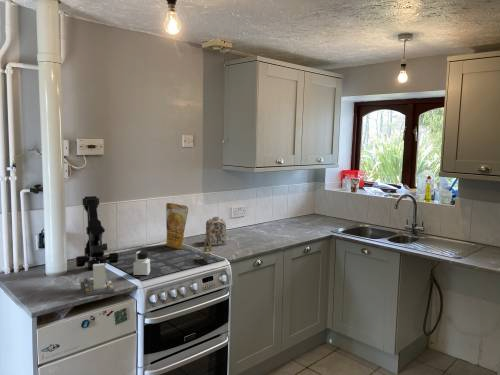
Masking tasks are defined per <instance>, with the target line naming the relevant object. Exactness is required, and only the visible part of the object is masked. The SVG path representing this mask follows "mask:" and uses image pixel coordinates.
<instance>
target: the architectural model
mask: <svg viewBox="0 0 500 375" xmlns="http://www.w3.org/2000/svg"><path fill="white" fill-rule="evenodd" d="M203 241H204V246H200V247H199V249H200V252H201V253H202V260H203V261H204V262H205V263H206V262H207V263H208V259H209V257H210V255H211V254H214V253H216V251H215V249H214V248H213V247H212V246H213V245H211V246H210V237H209V244H208V246H207V242H206V238H204V240H203ZM207 258H208V259H207Z"/></svg>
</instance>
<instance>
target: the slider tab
mask: <svg viewBox="0 0 500 375" xmlns="http://www.w3.org/2000/svg"><path fill="white" fill-rule="evenodd" d="M92 274H93V276H92V278H93V284H94V285H92V288H93V290H98V289H106V288H107V285H106V281H105V274H106V265H105V263H101V264H93V270H92Z"/></svg>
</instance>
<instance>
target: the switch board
mask: <svg viewBox="0 0 500 375" xmlns="http://www.w3.org/2000/svg"><path fill="white" fill-rule="evenodd" d="M105 281H106V285H107V288H106V289H98V290H93V288H92V285H94V284H93V277H91V276H90V275H87V276H86V278H83V285H84V291H85V296H86V297H91V296H92V297H93V296H99V295H105V294H106V295H107V294H112V293H115V287H114V284H113V281H112V280H111V276H110V275H107V273H105Z"/></svg>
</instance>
